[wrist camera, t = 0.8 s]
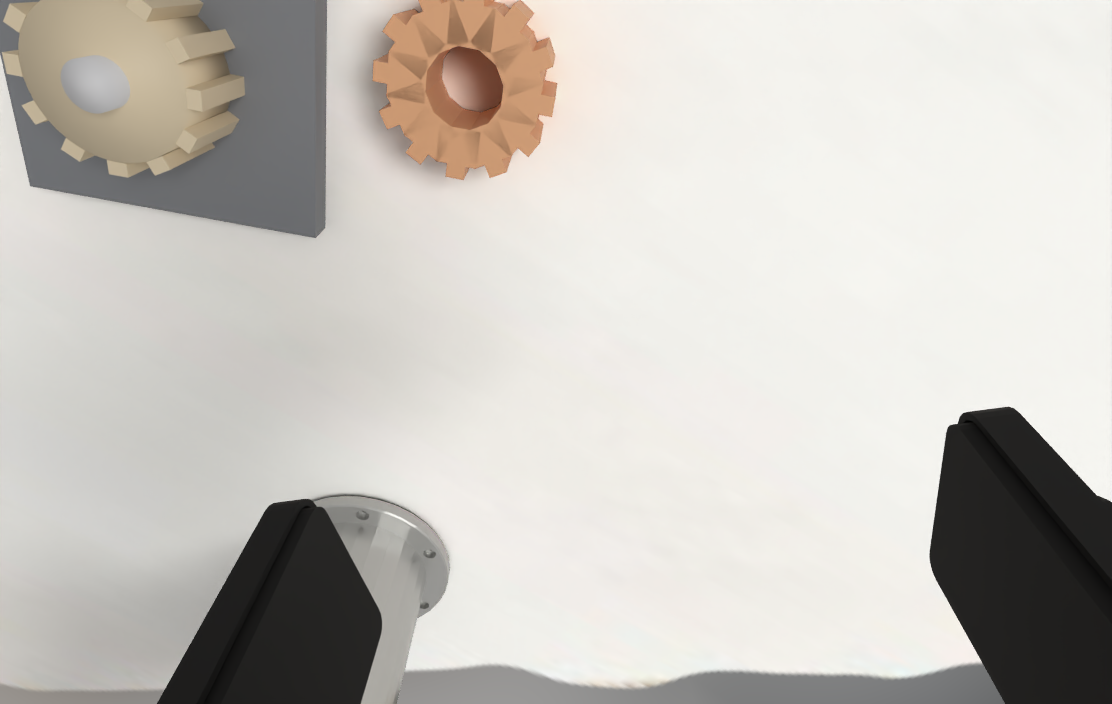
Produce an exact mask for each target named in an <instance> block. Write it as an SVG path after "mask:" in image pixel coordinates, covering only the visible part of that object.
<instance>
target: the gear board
mask: <svg viewBox="0 0 1112 704" xmlns="http://www.w3.org/2000/svg"><path fill="white" fill-rule="evenodd" d="M326 31H327V0H0V55H1V59H2V63H3V68H4V72H5V77H6V81H7V85H8V90H9V94H10V99H11V103H12V107H13V112H14V116H15V121H16V125H17V129H18V134H19V138H20V143H21V147H22V151H23V156H24V160H25V165H26V169H27V173H28V178H29V182H30V186H33V187H38V188H44V189H49V190H55V191H60V192H66V193H71V194H77V195H82V196H88V197H93V198H99V199H104V200H110V201H115V202H121V203H126V204H132V205H137V206H143V207H148V208H154V209H159V210H165V211H170V212H176V213H181V214H187V215H192V216H198V217H203V218H209V219H214V220H220V221H225V222H231V223H236V224H242V225H247V226H253V227H258V228H264V229H269V230H275V231H280V232H286V233H291V234H297V235H302V236H308V237H314V238H316V237H317V236H318V235H319V234H320V233H321V232H322V231H323V229H324V228H325V168H326Z"/></svg>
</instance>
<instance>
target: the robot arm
mask: <svg viewBox="0 0 1112 704" xmlns="http://www.w3.org/2000/svg"><path fill="white" fill-rule="evenodd" d="M930 563H931V567H932V571H933V574H934V576H935V578H936V580H937V582H938V584H939V586H940V588H941V589H942V591H943V593H944V595H945V597H946V598H947V600H948V602H949V604H950V606H951V607H952V609H953V611H954V613H955V614H956V616H957V618H958V620H959V622H960V623H961V625H962V627H963V629H964V631H965V632H966V634H967V636H968V638H969V640H970V641H971V643H972V645H973V647H974V649H975V650H976V652H977V654H978V656H979V658H980V659H981V661H982V663H983V665H984V666H985V668H986V670H987V672H988V673H989V675H990V677H991V679H992V681H993V682H994V684H995V686H996V688H997V690H998V692H999V693H1000V695H1001V697H1002V699H1003V700H1004V702H1005V704H1112V502H1110V501H1109V500H1107V499H1104V498H1102V497H1100V496H1097V495H1096V494H1095V493H1094V492H1093V491H1092V490H1091V489H1090V488H1089V487H1088V486H1087V485H1086V484H1085V483H1084V482H1083V480H1082V479H1081V478H1080V477H1079V476H1078V475H1077V474H1076V473H1075V472H1074V471H1073V470H1072V469H1071V468H1070V467H1069V465H1068V464H1067V463H1066V462H1065V461H1064V460H1063V459H1062V458H1061V457H1060V456H1059V455H1058V454H1057V453H1056V452H1055V450H1054V449H1053V448H1052V447H1051V446H1050V445H1049V444H1048V443H1047V442H1046V441H1045V440H1044V439H1043V438H1042V437H1041V436H1040V434H1039V433H1038V432H1037V431H1036V430H1035V429H1034V428H1033V427H1032V426H1031V425H1030V424H1029V423H1028V422H1027V421H1026V419H1025V418H1024V417H1023V416H1022V415H1021V414H1020V413H1019V412H1018V411H1016V410H1015V409H1014V408H1011V407H1003V408H995V409H987V410H980V411H972V412H966V413H963V414H962V415H961V416H960V418H959V422H958V424H954V425H950V426H949V427H948V429H947V432H946V439H945V446H944V453H943V461H942V468H941V475H940V482H939V489H938V496H937V503H936V511H935V518H934V525H933V532H932V539H931V546H930ZM449 571H450V564H449V556H448V554H447V551H446V549H445V546H444V544H443V543H442V541H441V540H440V538H439V537H438V535H437V534H436V533H435V532H434V531H433V530H432V529H431V528H430V527H429V526H428V525H427V524H426V523H425V522H424V521H422V520H421V519H419V518H418V517H417V516H415V515H414V514H412V513H410V512H408V511H406V510H404V509H402V508H400V507H398V506H396V505H393V504H390V503H387V502H384V501H381V500H377V499H371V498H366V497H356V496H339V497H328V498H324V499H320V500H316V501H311V500H310V499H301V500H294V501H286V502H278V503H273V504H271V505H270V506H269V507H268V508H267V509H266V510H265V512H264V514H263V516H262V517H261V519H260V521H259V523H258V525H257V526H256V528H255V530H254V532H253V533H252V535H251V537H250V539H249V541H248V542H247V544H246V546H245V548H244V550H243V551H242V553H241V555H240V557H239V558H238V560H237V562H236V564H235V566H234V567H233V569H232V571H231V573H230V574H229V576H228V578H227V580H226V582H225V583H224V585H223V587H222V589H221V591H220V592H219V594H218V596H217V598H216V599H215V601H214V603H213V605H212V607H211V608H210V610H209V612H208V614H207V615H206V617H205V619H204V621H203V623H202V624H201V626H200V628H199V630H198V632H197V633H196V635H195V637H194V639H193V640H192V642H191V644H190V646H189V648H188V649H187V651H186V653H185V655H184V656H183V658H182V660H181V662H180V664H179V665H178V667H177V669H176V671H175V673H174V674H173V676H172V678H171V680H170V681H169V683H168V685H167V687H166V689H165V690H164V692H163V694H162V696H161V698H160V700H159V701H158V703H157V704H397V700H398V696H399V692H400V688H401V683H402V679H403V675H404V671H405V667H406V662H407V658H408V654H409V650H410V646H411V641H412V637H413V633H414V629H415V625H416V620H417V618H419V617H420V616H422V615H424V614H425V613H427V612H429V611H430V610H431V609H432V608H433V607H434V606H435V605H436V604H437V603H438V602H439V601H440V599H441V598H442V596H443V595H444V593H445V590H446V586H447V583H448V578H449Z"/></svg>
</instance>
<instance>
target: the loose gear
mask: <svg viewBox="0 0 1112 704" xmlns="http://www.w3.org/2000/svg"><path fill="white" fill-rule="evenodd" d="M418 1H419V3H420V6H421V8H422V10H423V12H420V13H418V12H417V11H416V10H415V9H412V10H409V11H405V12H401V13H397V14H393V16H392V17H391V19H390V21H389V22H388V24H387V25H386V27H385V28H384V30H383V32H384V33H385V34H386V35H387V36H388V37H390V38H391V39H392V40H393V41H394V42H395V43H394V44H393V46H392V47H391V49H390V50H389V52H388V54H386V55H384V56H382V57H380V58H378V59H376V60H373V81H375V82H380V83H385V84H387V94H386V96H387V98H388V100H389V102H390V103H389V104H388V105H386V106H385V107H383V108H382V109H381V110H379V113H380V115H381V117H382V119H383V121H384V123H385V126H386V128H387V129H390V128H392V127H395V126H397V125H400V126H401V129H402V131H403V133H404V135H405V136H406V137H408V138H409V139H410V140H411V141H412V142H413V143H412V144H411V146H410V147H409V148H408V150H407V151H406V153H407V154H408V155H409V156H410V157H411V158H413V159H414V160H415V161H416V162H418V163H419V164H420V165H421V163H422V162H423V161H424V159H425V158H426V157H427V156H428V155H430V156H431V157H432V158H433V159H435V160H436V161H437V162H443V163H447V168H446V177H451V178H456V179H461V180H464V178H465V176H466V174H467V172H468V170H469V168H474V169H476V168H478V167H481V166H484V165H485V167H486V170H487V172H488V175H489V177H490V178H491V177H494V176H497V175H500V174H503V173H506V172H507V169H508V166H509V163H510V160H511V156H512V154H513V153H514V152H515V150H516V149H517V148H518V149H520V150H521V151H522V152H523V153H524V154H525V155H527V156H528V157H529V156H530V154H531V153H532V152H533V151H534V149H535V148H536V147H537V146H538V145H539V143H540V140H541V134H542V129H543V123H542V122H541V121H540V120H538V117H539V115H544V116H549V117H552V113H553V107H554V102H555V96H556V88H557V83H555V82H550V81H545V76H546V72H547V71H546V69H548V68H551V67H553V64H554V59H555V53H554V50H553V47H552V44H551V41H550V38H547V39H544V40H541V41H539V42H537V40H536V37H535V34H534V31H532V30H531V29H530V28H529V27H528V26H527V25H526V24H527V22H528V21H529V20H530V18H531V17H532V16H533V14H534V12H533V11H532V10H531V9H530V8H528V7H527V6H526V5H525V4H524V3H523V2H522V1H521V0H520V1H518V2H516V3H515V4H513V6H512V7H511V9H509V8H508V7H507V6H506V5H505V4H504V3H503V4H502V3H498V2H494V0H418ZM457 46H461V47H466V48H471V49H476V50H480V51H481V52H482V53H483V54H484V55H485V56H486V57H487V58H488V59H490V60H491V61H492V62H493V63H494V64H495V65H496V67H497V70H498V72H499V75H500V78H501V81H502V83H503V86H504V87H503V94H502V101H501V102H500V104H499V105H498V106H497V107H494V108H492V109H489V110H486V111H483V112H476V111H471V110H466V109H463V108H462V107H461V106H459V105H458V104H457V103H456V102H455V101H454V100H452V99H451V98H450V97H449V95H448V93H447V90H446V88H445V85H444V83H443V80H442V69H443V59H444V57H445V56H446V55H447V53H448V52H449V50H450V49H452V48H454V47H457Z"/></svg>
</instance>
